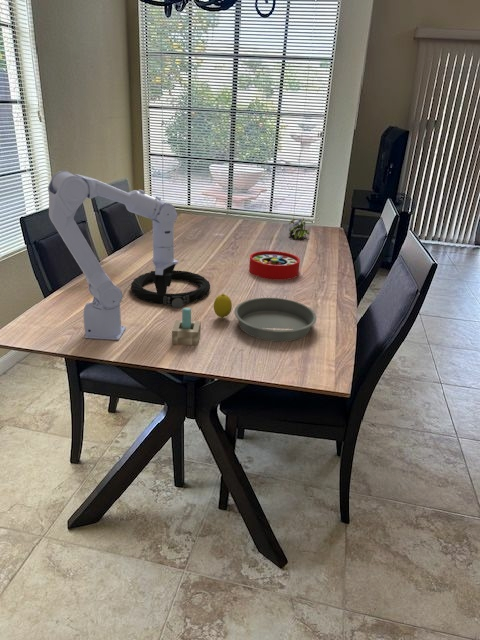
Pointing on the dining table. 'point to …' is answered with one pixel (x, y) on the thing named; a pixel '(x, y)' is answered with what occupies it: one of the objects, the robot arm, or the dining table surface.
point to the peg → (186, 318)
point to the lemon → (222, 305)
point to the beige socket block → (186, 333)
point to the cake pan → (275, 318)
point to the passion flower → (297, 225)
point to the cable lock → (173, 299)
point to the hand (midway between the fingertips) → (164, 290)
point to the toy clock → (274, 265)
